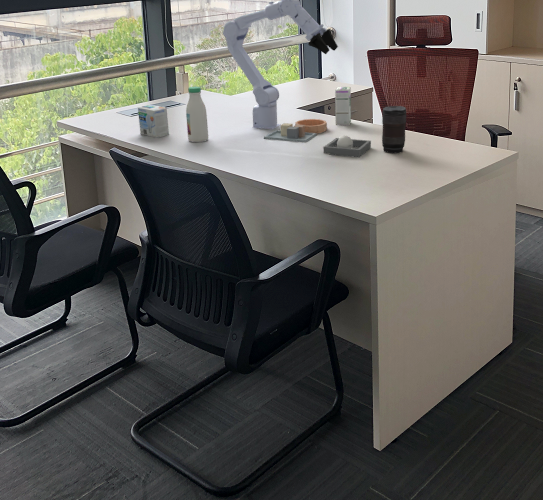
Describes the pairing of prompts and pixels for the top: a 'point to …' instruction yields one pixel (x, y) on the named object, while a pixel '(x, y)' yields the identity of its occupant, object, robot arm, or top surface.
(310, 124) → the bowl
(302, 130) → the cardboard tan cube
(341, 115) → the syrup box
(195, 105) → the milk bottle
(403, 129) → the camera lens
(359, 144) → the grey square tray
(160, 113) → the light bulb box
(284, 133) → the cream matte cube
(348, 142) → the pale grey egg
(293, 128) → the plain grey cube
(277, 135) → the parts tray
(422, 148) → the top surface
